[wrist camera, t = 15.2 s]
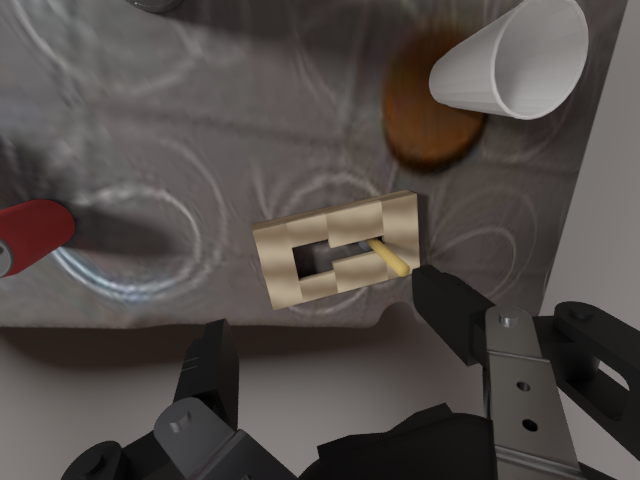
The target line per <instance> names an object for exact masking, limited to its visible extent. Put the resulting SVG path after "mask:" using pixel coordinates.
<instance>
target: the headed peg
mask: <svg viewBox="0 0 640 480" xmlns="http://www.w3.org/2000/svg"><path fill="white" fill-rule="evenodd" d="M357 243H358V245H359V246H360V247H361V248H362V249H363V250H364V251H367V252H371V251H375V252H376V253H377V254H378V255H379V256H380V257H381V258H382V259H383V260H384V261H385V262H386V263H387V264H388V265H389V266H390V267H391V268H392V269H393V270H394V271H395V272H396V273H397V274H398V275H400V276H402V277H404V276H406V275H408V274H409V272H410V267H409V265H407V264H406V263H405V262H404V261H403V260H402V259H400V258H399V257H398V256H397V255H396V254H395V253H393V252H392V251H391V250H390V249H389V248H388V247H386V246H385V245H384V244H383V243H382V236H378V237H374V238H370V239H366V240H362V241H358V242H357Z"/></svg>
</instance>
